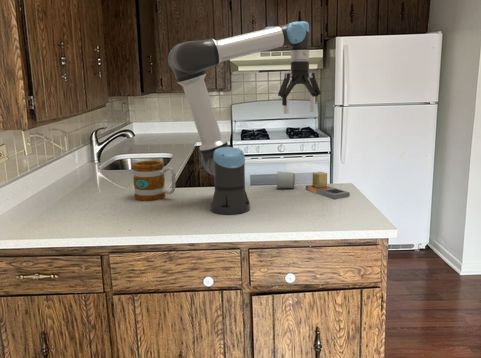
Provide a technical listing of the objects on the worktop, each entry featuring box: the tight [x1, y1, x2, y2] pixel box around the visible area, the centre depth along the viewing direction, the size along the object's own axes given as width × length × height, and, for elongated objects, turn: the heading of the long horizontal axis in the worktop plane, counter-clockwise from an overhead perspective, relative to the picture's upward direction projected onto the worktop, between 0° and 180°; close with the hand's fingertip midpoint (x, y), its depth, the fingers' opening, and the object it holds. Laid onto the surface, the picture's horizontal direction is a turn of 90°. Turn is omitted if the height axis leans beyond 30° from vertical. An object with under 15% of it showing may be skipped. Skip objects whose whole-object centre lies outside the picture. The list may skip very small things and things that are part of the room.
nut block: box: [312, 171, 328, 189], centre depth 205 cm, size 4×4×8 cm
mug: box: [131, 160, 176, 202], centre depth 199 cm, size 20×14×15 cm
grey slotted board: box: [305, 184, 351, 200], centre depth 202 cm, size 8×20×2 cm, turn 28°
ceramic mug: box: [276, 171, 296, 189], centre depth 214 cm, size 11×8×8 cm
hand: (299, 112), depth 197 cm, fingers open, 13 cm apart
